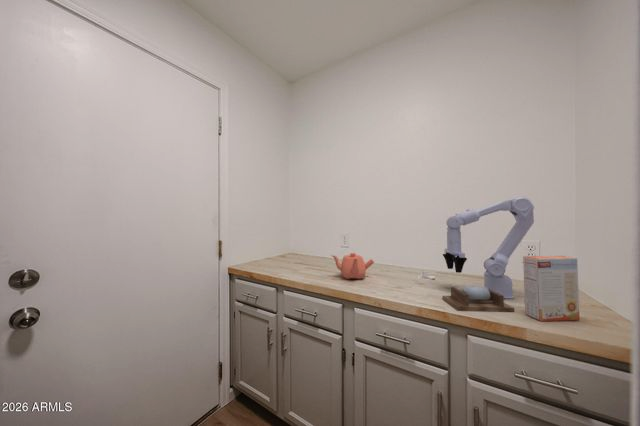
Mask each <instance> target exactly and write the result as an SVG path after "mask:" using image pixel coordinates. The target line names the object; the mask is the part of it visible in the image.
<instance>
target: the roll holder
mask: <svg viewBox="0 0 640 426" xmlns="http://www.w3.org/2000/svg"><path fill="white" fill-rule="evenodd" d="M487 289H488V288H487ZM488 290H489V292H490V299H489V300H469V295H468V294H466V293H464V292H462V291H461V289H459V288H457V287H455V286H450V295H442V298H441V299H442V300H443V301H444V302H446V303H447V304H448V305H450V306H451V307H452V308H454V309H455V311H456V310H457V311H458V312H459V311H460V312H492V313H493V312H494V313H495V312H499V313H500V312H501V313H503V312H504V313H515V307H514V306H511V305H509V304H508V303H505V301H504V299H505V298H504V296H503V295H501V294H499V293H497V292H494V291H492V290H490V289H488Z"/></svg>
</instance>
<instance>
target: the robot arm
mask: <svg viewBox="0 0 640 426" xmlns="http://www.w3.org/2000/svg"><path fill="white" fill-rule="evenodd" d="M534 208H535V206H534V204H533V203H532V201H531V200H530V199H529V198H528V197H525V196H522V197H521V196H520V197H517V198H512V199H507V200H503V201H499V202H495V203H493V204H490V205H489V206H485V207H483V208H480V209H478V210H477V209H474V208H472V209H471V208H469V209H465V210H466V211H464V212H461V213H456V214H455V215H452V216H449V217H448V218H447V220H446V222H445V223H446V230H447V231H446V248H445V249H444V253H443V254H442V256H443V259H444V261H445V263H446V268H447V269H449V270H453V269H454V268H455V269H454V270H455V273H457V274H459V273H462V271H463V268H464V265H465V263H466V262H467V260H468V258H467V257H466V253H464V252H463V251H462V232H461V226H464V227H465V226H467V225H470V224H472V223H475V222H478V221H479V220H480V218H481V217H484V216H486V215H487V216H488V215H489V214H490V215H491V214H493V213H496V212H499V211H503V212H507V211H508V212H509V213H511V215H513V216H512V217H514V220H515V223H514V225H513V226H512V228H511V229H510V231H509V232H508V234H507V235H506V236H505V238H504V239H503V241H502V242H501V244H500V245H499V246H498V248H497V250H496V251H495V252H494V253H492V255H490V257H489V258H487V259H485V260H484V262H483V268H484V270H485V271H484V274H483V276H484V277H483V284H484V286H483V287H486V288H488V289H490V290H492V291H494V292H497V293H499V294H501V295H503V296H504V299H515V297H514V296H513V294H514V293H513V292H514V291H513V281H512V278H511V277H510V276H508V275H505V273H506V268H507V265H509V264H508V263H509V259H510V258H511V256H512V255H513V253H514V252H515V250H516V249H517V247H518V246H519V245H520V243H522V240H523V239H524V237H525V236H526V234H527V233H528V232H529V231H530V229H531V227H532V226H533V224H534V222H535V219H534V217H535V216H534Z"/></svg>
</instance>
